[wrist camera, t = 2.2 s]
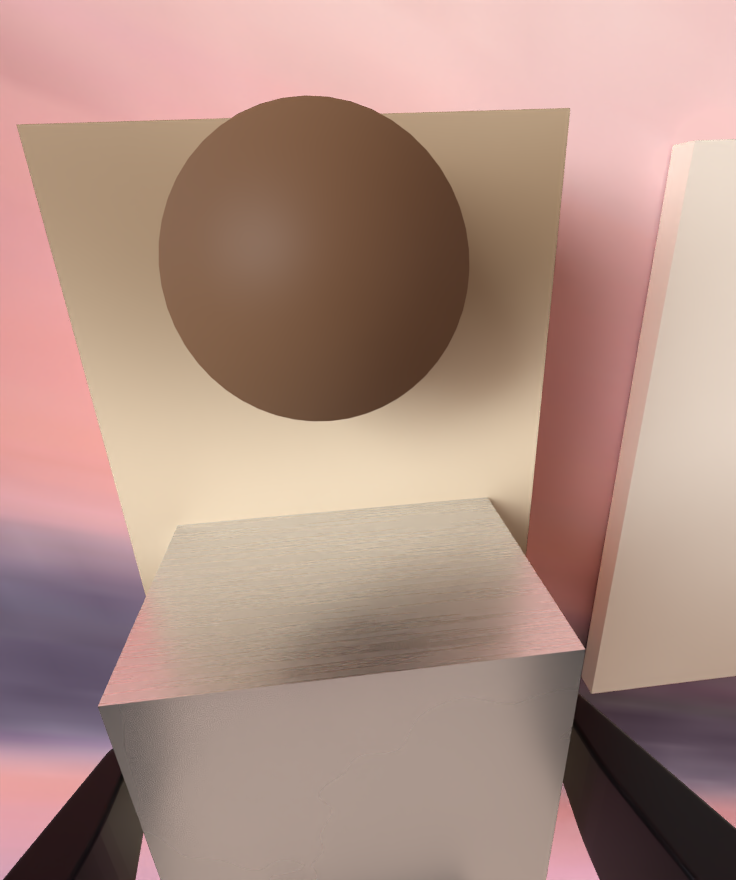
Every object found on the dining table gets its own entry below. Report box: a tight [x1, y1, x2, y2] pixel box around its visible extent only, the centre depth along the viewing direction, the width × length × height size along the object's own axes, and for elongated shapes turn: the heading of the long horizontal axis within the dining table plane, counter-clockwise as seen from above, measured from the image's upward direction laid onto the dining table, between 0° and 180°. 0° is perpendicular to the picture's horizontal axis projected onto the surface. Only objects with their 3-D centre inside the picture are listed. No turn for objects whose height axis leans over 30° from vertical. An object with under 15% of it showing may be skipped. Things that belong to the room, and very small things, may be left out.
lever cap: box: [98, 497, 585, 880], centre depth 7 cm, size 8×5×4 cm, turn 2°
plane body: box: [17, 96, 570, 596], centre depth 9 cm, size 15×6×6 cm, turn 2°
